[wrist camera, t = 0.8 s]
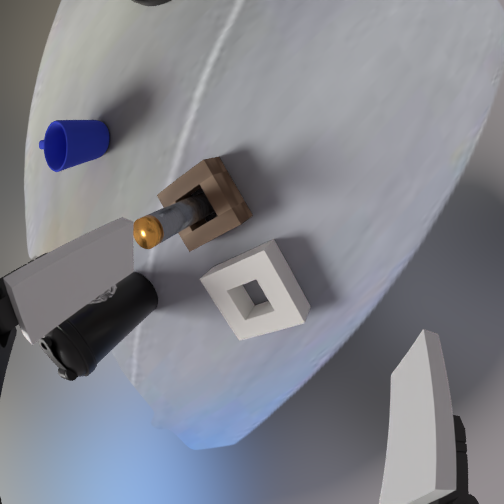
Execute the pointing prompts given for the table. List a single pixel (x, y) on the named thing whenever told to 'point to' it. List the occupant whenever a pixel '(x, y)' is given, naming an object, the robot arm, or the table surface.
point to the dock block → (272, 283)
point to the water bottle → (99, 326)
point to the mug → (74, 142)
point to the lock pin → (171, 220)
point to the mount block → (219, 195)
